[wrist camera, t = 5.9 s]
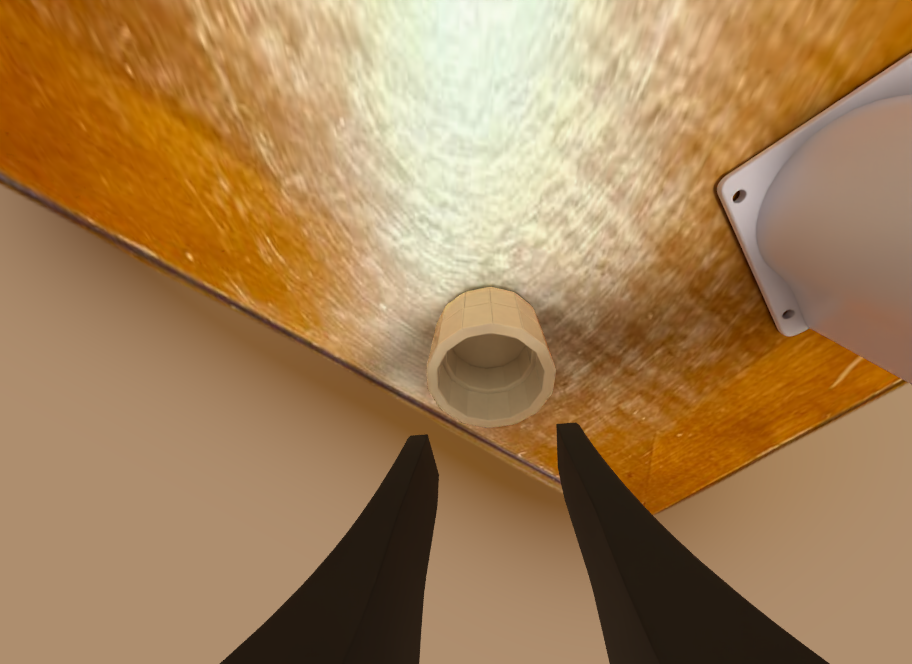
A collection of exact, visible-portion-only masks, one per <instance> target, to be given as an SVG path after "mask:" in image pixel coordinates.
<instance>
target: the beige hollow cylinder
mask: <svg viewBox="0 0 912 664" xmlns="http://www.w3.org/2000/svg"><path fill="white" fill-rule="evenodd" d="M426 370H427V385H428V391H429V392H430V394H431V395H432V397H433V398H434V400H435V401H436V403H437V404H438V406H439V407H440V409H441V410H442V411H444V412H445V413H447V414H448V415H450V416H452V417H453V418H455V419H457V420H458V421H460V422H461V423H464V424H469V425H474V426H479V427H484V428H494V427H501V426H508V425H514V424H517V423H519V422H521V421H522V420H524V419H526V418H528V417H530V416H532V415H534V414H536V413H537V412H538V411H539V410H540V408H541V407H542V406H543V405H544V403H545V402H546V401H547V400H548V398H549V397H550V396H551V394H552V392H553V387H554V381H555V375H556V367H555V364H554V361H553V358H552V356H551V353H550V350H549V347H548V344H547V341H546V339H545V336H544V333H543V330H542V327H541V325H540V322H539V320H538V318H537V315H536V313H535V311H534V308H533V307H532V306H531V305H530V304H529V303H527V302H526V301H525V300H524V299H522V298H521V297H520V296H519V295H517V294H516V293H514V292H512V291H507V290H503V289H498V288H494V287H486V288H481V289H476V290H471V291H467V292H464V293H462V294H461V295H460V296H458V297H457V298H456V299H454V300H453V301H452V302H450V303H449V304H447V305H446V307H445V308H444V310H443V312H442V314H441V316H440V318H439V320H438V322H437V324H436V328H435V332H434V337H433V341H432V345H431V350H430V354H429V358H428V363H427V367H426Z"/></svg>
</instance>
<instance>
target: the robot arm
mask: <svg viewBox="0 0 912 664" xmlns="http://www.w3.org/2000/svg"><path fill="white" fill-rule="evenodd" d="M737 191H740V195H739V197H738V198H737V199H736V200H735V201H733V198H732V197H733V195H734V194H735V193H736V192H737ZM717 193H718V196H719V198H720V200H721V202H722V205H723V207H724V209H725V211H726V214H727V216H728V218H729V220H730V223H731V225H732V227H733V230H734V232H735V234H736V236H737V239H738V241H739V243H740V245H741V248H742V250H743V252H744V254H745V257H746V259H747V261H748V263H749V266H750V268H751V270H752V272H753V275H754V277H755V279H756V282H757V284H758V286H759V288H760V291H761V293H762V295H763V297H764V300H765V302H766V304H767V306H768V309H769V311H770V313H771V315H772V318H773V320H774V322H775V324H776V327H777V329H778V331H779V332H780V333H782V334H783V335H785V336H794V335H797V334H799V333H801V332H803V331H805V330H808V329H812V330H814V331H816V332H818V333H819V334H821V335H823V336H825V337H827V338H828V339H830V340H832V341H834V342H836V343H838V344H839V345H841V346H843V347H845V348H847V349H848V350H850V351H852V352H854V353H856V354H858V355H859V356H861V357H863V358H865V359H867V360H868V361H870V362H872V363H874V364H876V365H878V366H879V367H881V368H883V369H885V370H887V371H888V372H890V373H892V374H894V375H896V376H898V377H899V378H901V379H903V380H905V381H907V382H908V383H910V384H912V52H911V53H910V54H908V55H907V56H905V57H904V58H902V59H901V60H899V61H898V62H896V63H895V64H893V65H892V66H890V67H889V68H887V69H886V70H884V71H883V72H881V73H880V74H878V75H877V76H875V77H874V78H872V79H871V80H869V81H868V82H866V83H865V84H863V85H862V86H860V87H859V88H857V89H856V90H854V91H853V92H851V93H850V94H848V95H847V96H845V97H844V98H842V99H841V100H839V101H838V102H836V103H835V104H833V105H832V106H830V107H828V108H827V109H825V110H824V111H822V112H821V113H819V114H818V115H816V116H815V117H813V118H812V119H810V120H809V121H807V122H806V123H804V124H803V125H801V126H800V127H798V128H797V129H795V130H794V131H792V132H791V133H789V134H788V135H786V136H785V137H783V138H782V139H780V140H779V141H777V142H776V143H774V144H773V145H771V146H770V147H768V148H767V149H765V150H764V151H762V152H761V153H759V154H758V155H756V156H755V157H753V158H752V159H750V160H749V161H747V162H746V163H744V164H743V165H741V166H740V167H738V168H737V169H735V170H734V171H732V172H731V173H729V174H728V175H726V176H725V177H724V178H723V179H721V181H720V182H719V184H718V187H717ZM787 310H788V311H787ZM785 311H787V313H785V314H784V315H783V313H784V312H785ZM557 454H558V470H559V475H560V480H561V485H562V489H563V494H564V498H565V502H566V505H567V508H568V511H569V515H570V518H571V521H572V524H573V527H574V530H575V534H576V537H577V540H578V543H579V546H580V549H581V552H582V555H583V559H584V562H585V565H586V568H587V571H588V575H589V578H590V581H591V585H592V589H593V592H594V597H595V601H596V605H597V610H598V614H599V618H600V622H601V627H602V631H603V636H604V640H605V645H606V649H607V654H608V658H609V662H610V664H829V663H828V662H826V661H825V660H824V659H822V658H821V657H820V656H818V655H817V654H816V653H814V652H813V651H812V650H810V649H809V648H808V647H806V646H805V645H804V644H802V643H801V642H800V641H798V640H797V639H796V638H794V637H793V636H792V635H790V634H789V633H788V632H786V631H785V630H784V629H782V628H781V627H780V626H779V625H777V624H776V623H775V622H773V621H772V620H771V619H769V618H768V617H767V616H766V615H765V614H763V613H762V612H761V611H760V610H758V609H757V608H756V607H754V606H753V605H752V604H751V603H749V602H748V601H747V600H746V599H745V598H743V597H742V596H741V595H740V594H739V593H737V592H736V591H735V590H734V589H733V588H731V587H730V586H729V585H728V584H727V583H726V582H724V581H723V580H722V579H721V578H720V577H719V576H717V575H716V574H715V573H714V572H713V571H711V570H710V569H709V568H708V567H707V566H706V565H705V564H703V563H702V562H701V561H700V560H699V559H698V558H697V557H695V556H694V555H693V554H692V553H691V552H690V551H689V550H688V549H687V548H686V547H685V546H684V545H682V544H681V543H680V542H679V541H678V540H677V539H676V538H675V537H674V536H673V535H672V534H671V533H670V532H669V531H668V530H667V529H666V528H665V527H664V526H663V525H662V524H660V523H659V521H658V520H657V519H656V518H655V517H654V516H653V515H652V514H651V513H650V512H649V511H648V510H647V509H646V508H645V507H644V506H643V505H642V504H641V503H640V501H639V500H638V499H637V498H636V497H635V496H634V495H633V494H632V493H631V492H630V490H629V489H628V488H627V487H626V486H625V485H624V484H623V482H622V481H621V480H620V479H619V478H618V476H617V475H616V474H615V473H614V472H613V470H612V469H611V468H610V467H609V466H608V464H607V463H606V462H605V461H604V459H603V458H602V457H601V455H600V454H599V453H598V451H597V450H596V449H595V447H594V446H593V445H592V443H591V442H590V441H589V439H588V438H587V436H586V435H585V433H584V432H583V430H582V429H581V427H580V425H578V424H577V423H565V424H557ZM438 481H439V474H438V470H437V467H436V463H435V459H434V456H433V452H432V449H431V445H430V442H429V438H428V435H415V436H410V437H409V438H408V439H407V441H406V443H405V445H404V447H403V448H402V450H401V452H400V454H399V456H398V457H397V459H396V461H395V463H394V464H393V466H392V467H391V469H390V471H389V472H388V474H387V475H386V477H385V479H384V480H383V482H382V483H381V485H380V487H379V488H378V490H377V491H376V493H375V494H374V496H373V497H372V499H371V500H370V502H369V503H368V504H367V506H366V508H365V509H364V510H363V512H362V513H361V515H360V516H359V517H358V519H357V520H356V521H355V523H354V524H353V525H352V527H351V528H350V530H349V531H348V532H347V533H346V535H345V536H344V537H343V538H342V540H341V541H340V542H339V543H338V545H337V546H336V547H335V548H334V550H333V551H332V552H331V553H330V554H329V556H328V557H327V558H326V559H325V560H324V562H322V563H321V565H320V566H319V567H318V568H317V569H316V570H315V572H314V573H313V574H312V575H311V576H310V577H309V578H308V579H307V580H306V581H305V582H304V584H303V585H302V586H301V587H300V588H299V589H298V590H297V591H296V592H295V593H294V594H293V595H292V596H291V597H290V598H289V599H288V600H287V601H286V602H285V603H284V604H283V605H282V606H281V607H280V608H279V609H278V610H277V611H276V612H275V613H274V614H273V615H272V616H271V617H270V618H269V619H268V620H267V621H266V622H265V623H264V624H263V625H262V626H261V627H260V628H259V629H257V630H256V632H254V633H253V634H252V635H251V636H250V637H249V638H248V639H247V640H245V641H244V642H243V643H242V644H241V645H240V646H239V647H238V648H237V649H236V650H234V651H233V652H232V653H231V654H230V655H229V656H228V657H227V658H226V659H225V660H223V661H222V662H221V663H220V664H419V657H420V640H421V626H422V613H423V599H424V589H425V581H426V574H427V568H428V561H429V555H430V549H431V542H432V537H433V530H434V524H435V518H436V510H437V502H438Z"/></svg>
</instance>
